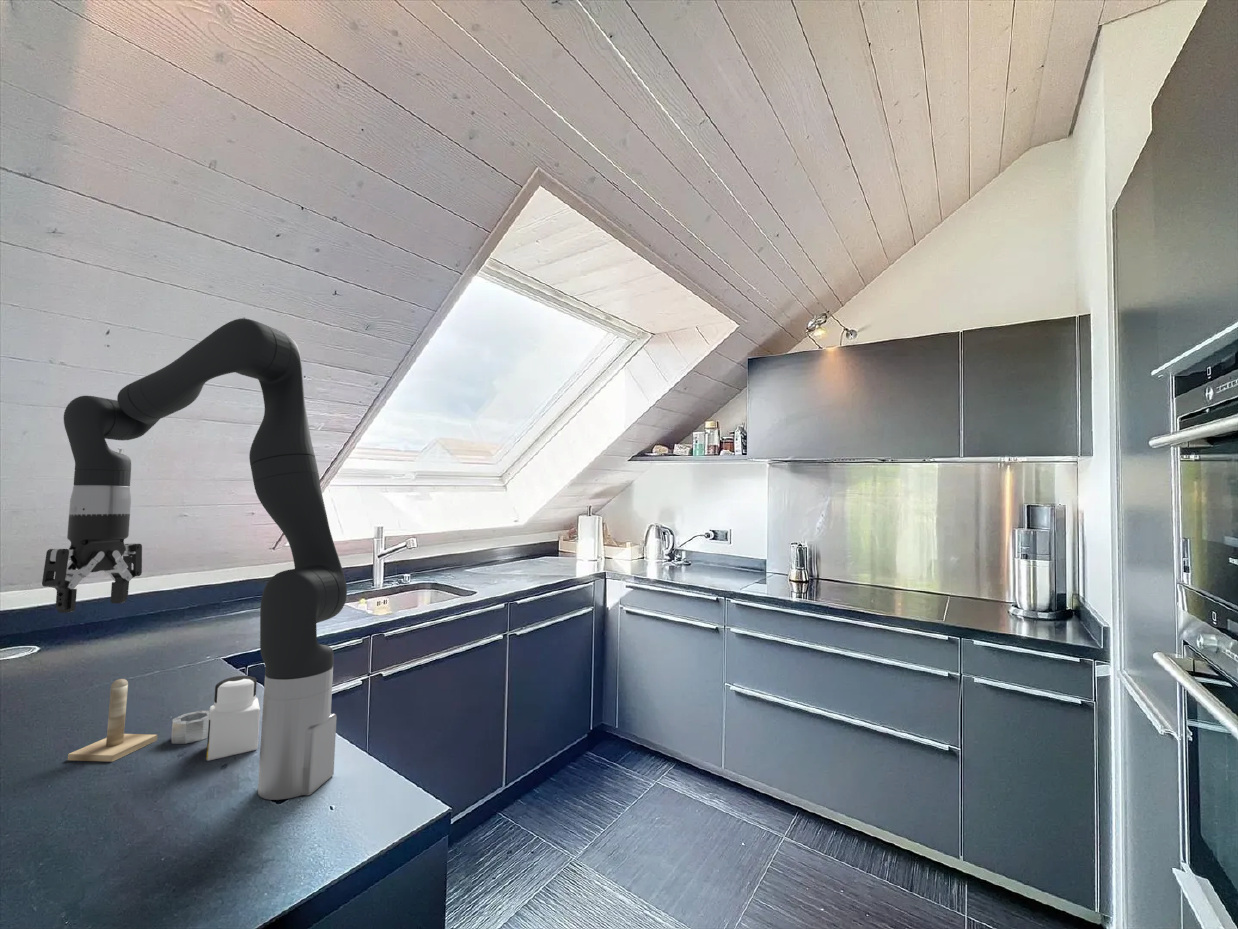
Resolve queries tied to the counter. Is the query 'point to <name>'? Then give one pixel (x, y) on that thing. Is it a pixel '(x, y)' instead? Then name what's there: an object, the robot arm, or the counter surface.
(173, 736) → the ring
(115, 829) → the counter surface
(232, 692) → the medicine bottle
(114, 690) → the post stand
